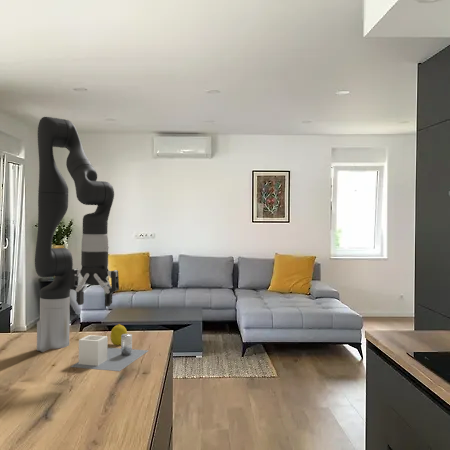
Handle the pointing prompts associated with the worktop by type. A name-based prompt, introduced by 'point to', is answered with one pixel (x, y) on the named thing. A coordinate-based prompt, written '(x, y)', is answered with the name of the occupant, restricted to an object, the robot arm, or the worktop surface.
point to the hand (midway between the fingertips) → (94, 305)
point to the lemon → (117, 334)
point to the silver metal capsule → (126, 344)
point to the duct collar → (93, 350)
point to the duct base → (114, 360)
